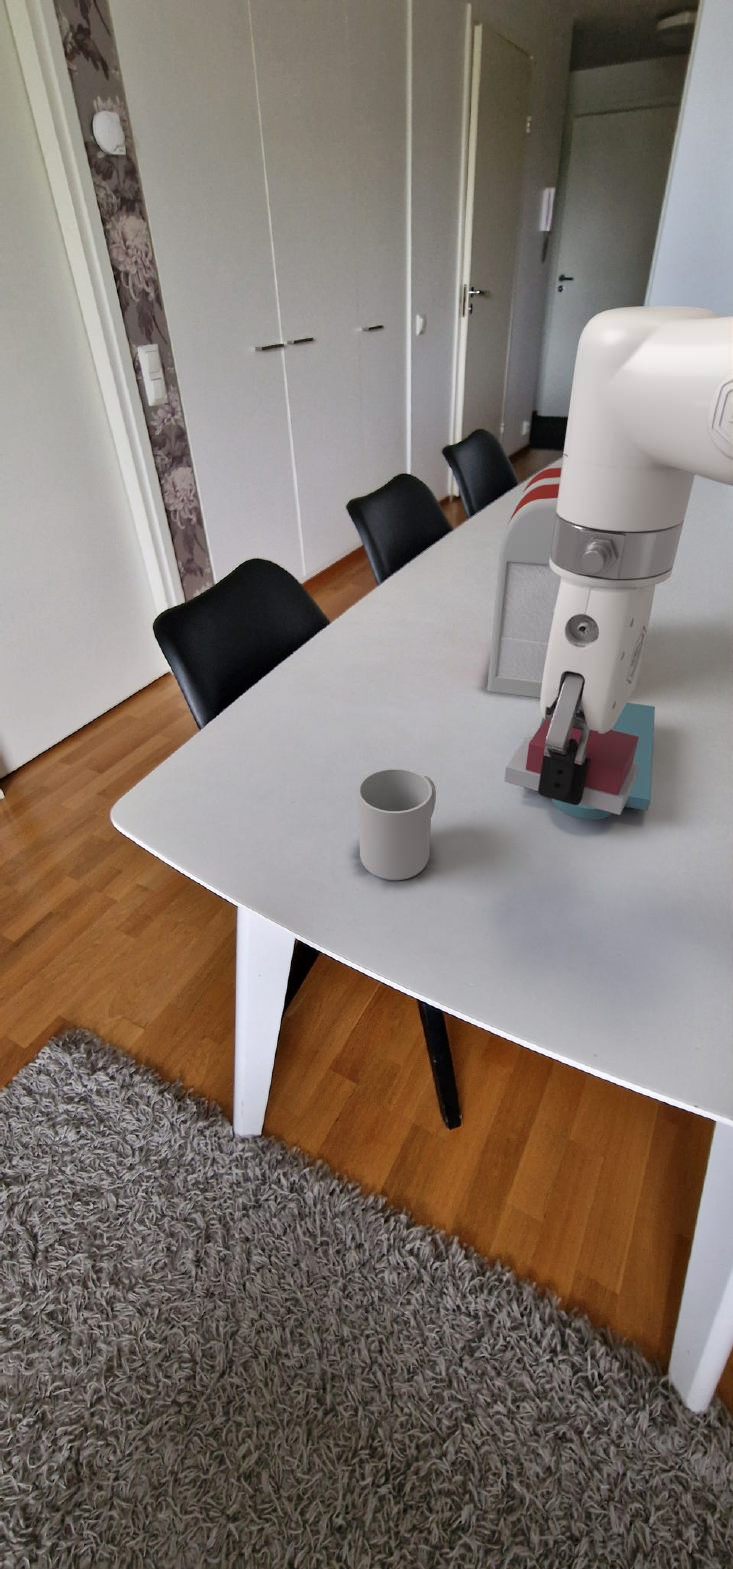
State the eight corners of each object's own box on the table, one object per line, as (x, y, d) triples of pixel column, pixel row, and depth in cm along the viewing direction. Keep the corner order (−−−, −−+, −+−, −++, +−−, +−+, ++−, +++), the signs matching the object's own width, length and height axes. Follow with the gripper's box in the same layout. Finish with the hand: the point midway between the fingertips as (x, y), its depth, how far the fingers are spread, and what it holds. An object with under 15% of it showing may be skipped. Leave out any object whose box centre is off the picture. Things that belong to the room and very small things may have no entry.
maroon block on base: (635, 779, 55) (646, 736, 53) (620, 815, 51) (631, 771, 49) (525, 750, 59) (530, 708, 56) (503, 781, 55) (508, 739, 53)
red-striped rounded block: (484, 691, 100) (502, 493, 84) (502, 639, 114) (520, 460, 98) (605, 706, 96) (647, 501, 80) (608, 650, 110) (645, 465, 94)
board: (546, 717, 94) (550, 691, 92) (648, 733, 91) (655, 706, 88) (515, 824, 77) (519, 796, 74) (640, 849, 73) (649, 820, 71)
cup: (345, 861, 73) (341, 793, 67) (405, 813, 79) (406, 747, 73) (400, 893, 69) (400, 823, 64) (458, 840, 75) (463, 773, 70)
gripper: (644, 602, 37) (588, 859, 47) (699, 515, 48) (644, 737, 59) (507, 580, 40) (484, 825, 51) (590, 503, 51) (557, 716, 62)
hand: (570, 776), depth 55 cm, fingers closed on maroon block on base, 5 cm apart
